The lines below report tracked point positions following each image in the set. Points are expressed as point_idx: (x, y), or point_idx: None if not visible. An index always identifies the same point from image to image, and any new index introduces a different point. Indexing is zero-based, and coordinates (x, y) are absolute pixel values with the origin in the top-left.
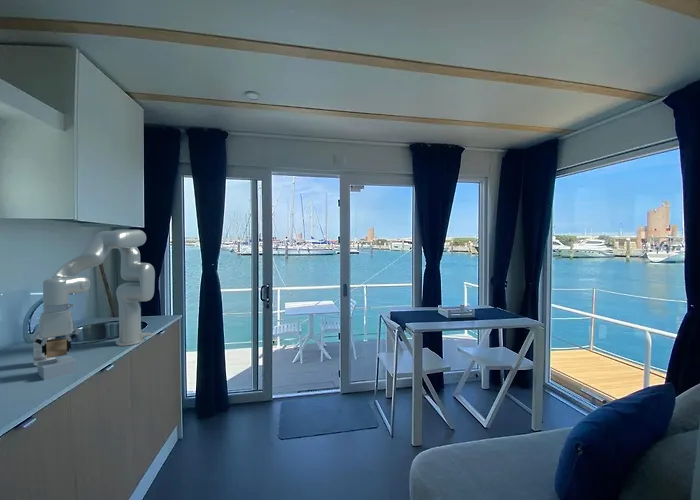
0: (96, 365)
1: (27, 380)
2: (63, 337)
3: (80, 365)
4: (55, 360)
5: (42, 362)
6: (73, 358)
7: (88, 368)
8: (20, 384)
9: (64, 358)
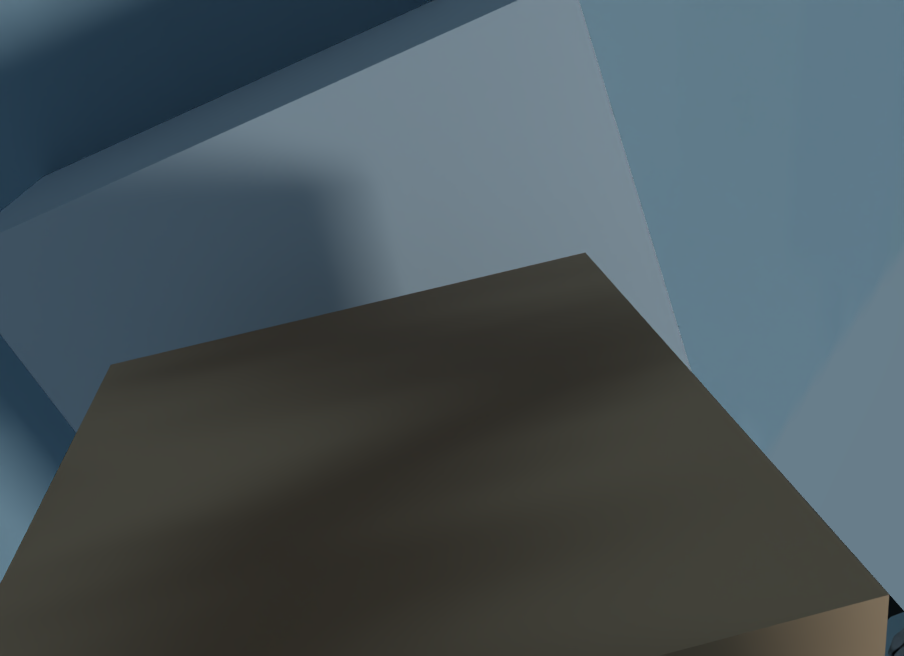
0: (898, 199)
1: (25, 441)
2: (752, 649)
3: (681, 39)
4: (332, 291)
5: (77, 313)
6: (673, 330)
7: (785, 296)
8: (8, 561)
9: (496, 229)
